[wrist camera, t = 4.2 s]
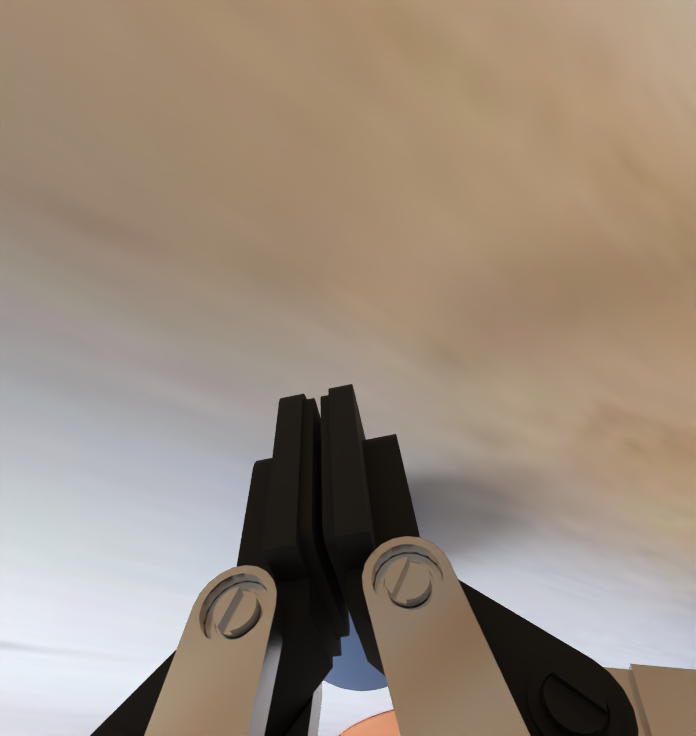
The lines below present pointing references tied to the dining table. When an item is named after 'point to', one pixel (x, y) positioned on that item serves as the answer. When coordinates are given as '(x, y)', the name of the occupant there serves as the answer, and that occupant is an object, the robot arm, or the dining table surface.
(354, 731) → the orange disc
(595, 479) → the dining table surface
